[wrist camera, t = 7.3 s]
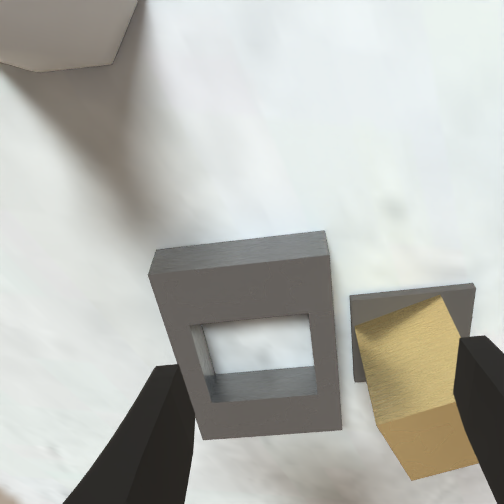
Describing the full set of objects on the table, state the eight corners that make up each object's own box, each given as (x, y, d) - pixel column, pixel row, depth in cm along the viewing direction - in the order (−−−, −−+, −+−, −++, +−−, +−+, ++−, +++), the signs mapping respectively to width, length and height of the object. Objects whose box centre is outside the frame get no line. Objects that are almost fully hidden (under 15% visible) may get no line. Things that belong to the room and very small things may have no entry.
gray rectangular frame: (324, 230, 22) (329, 254, 21) (337, 401, 29) (342, 430, 27) (156, 249, 23) (147, 274, 21) (206, 411, 30) (202, 440, 28)
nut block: (440, 294, 24) (487, 392, 19) (464, 352, 26) (513, 454, 21) (354, 326, 25) (376, 425, 20) (384, 379, 27) (411, 480, 22)
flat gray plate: (472, 283, 24) (475, 288, 23) (461, 367, 27) (464, 373, 27) (349, 295, 24) (351, 300, 24) (353, 376, 28) (354, 382, 27)
